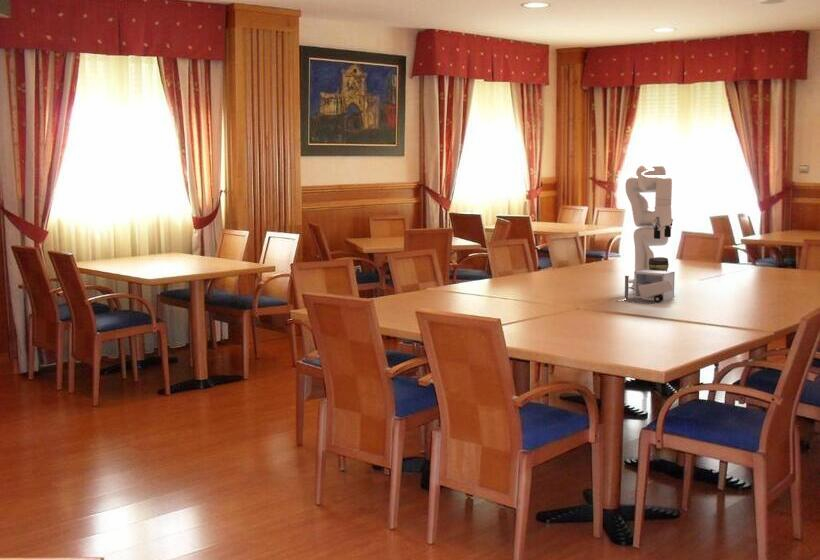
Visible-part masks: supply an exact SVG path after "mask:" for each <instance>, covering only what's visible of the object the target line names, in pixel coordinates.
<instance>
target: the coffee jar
mask: <svg viewBox="0 0 820 560" xmlns="http://www.w3.org/2000/svg"><path fill="white" fill-rule="evenodd" d="M669 264H670V263H669V259H668V258H667V257H662V256H661V257H654V258H650V259H649V265H648V266H649V269H650V270H657V271H668V269H669V266H670V265H669Z"/></svg>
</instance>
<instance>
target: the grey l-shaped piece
mask: <svg viewBox="0 0 820 560" xmlns="http://www.w3.org/2000/svg"><path fill="white" fill-rule="evenodd" d="M629 277H630V276H629V275H625V276H624V298H626V300H624V301H627V302H626V303H632V302H634V304H635V303H636V304H641V305H642V304H644V305H652V304H656V303H657V302H655V301H654V300H649V299H639V298H634V297H629ZM661 302H662V301H660V302H659V303H661Z"/></svg>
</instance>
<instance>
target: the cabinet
mask: <svg viewBox="0 0 820 560" xmlns="http://www.w3.org/2000/svg"><path fill="white" fill-rule="evenodd" d="M633 273H634V278H633V279H634V288H633V298H637V299H639V298H641V295H640V292H639V289H638V286H642V285H647V284H652V283H657V282H662V281H669V283H670V284H671V286H672V288H673V290H672V291H668V292H665V293H661V294H660V295H662V296H663V300H662V301H661V302H665V301H666V302H667V301H669V300H673V299H674V300H675V271H670V270H669V271H668V270H667V271H657V270H640V271H635V270H634V271H633ZM655 296H656V295H654V296H650V297H647V298H643V299H647V300H649V299H650V300H654V297H655Z"/></svg>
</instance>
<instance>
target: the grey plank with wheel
mask: <svg viewBox="0 0 820 560" xmlns="http://www.w3.org/2000/svg"><path fill="white" fill-rule="evenodd" d="M638 289H639V292H640V295H641V298H642V299H643V298H647V297H650V296H654V295H656V296H655V297H654V301H655V302H657V303H661V302H663V301H662V300H663V296H662V295H660V294H661V293H665V292H668V291H672V290H673V288H672V286H671V284H670V283H669V281H662V282H657V283H652V284H647V285H642V286H638ZM660 301H661V302H660Z"/></svg>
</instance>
